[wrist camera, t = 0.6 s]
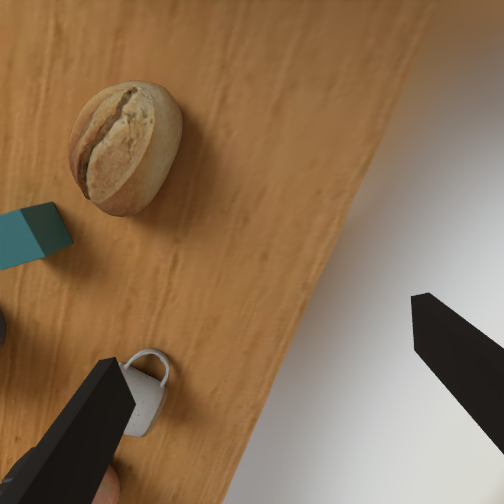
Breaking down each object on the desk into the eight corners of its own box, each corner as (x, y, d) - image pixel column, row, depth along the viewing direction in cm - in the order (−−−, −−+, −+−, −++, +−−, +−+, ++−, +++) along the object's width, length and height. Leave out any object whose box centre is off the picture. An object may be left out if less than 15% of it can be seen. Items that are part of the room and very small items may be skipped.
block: (12, 214, 36) (-28, 224, 31) (52, 201, 36) (19, 208, 31) (34, 254, 38) (0, 270, 33) (73, 242, 37) (45, 256, 32)
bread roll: (78, 190, 35) (31, 199, 28) (121, 64, 31) (81, 35, 24) (152, 226, 37) (127, 244, 29) (203, 111, 33) (189, 97, 25)
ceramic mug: (154, 409, 46) (136, 456, 38) (104, 388, 44) (76, 432, 37) (185, 359, 43) (173, 399, 36) (134, 334, 42) (110, 371, 34)
